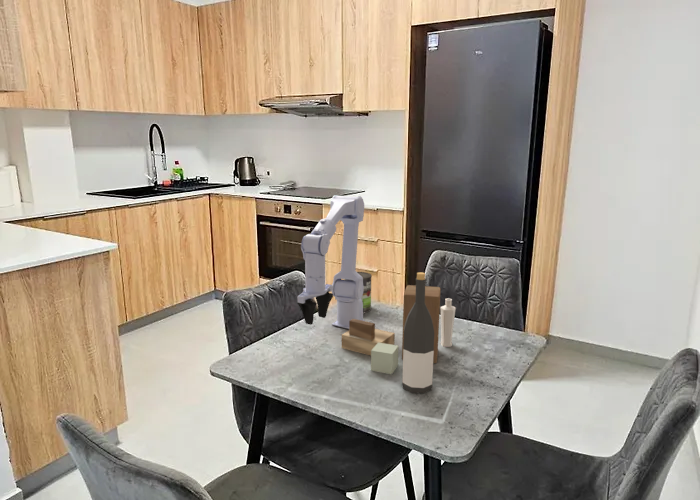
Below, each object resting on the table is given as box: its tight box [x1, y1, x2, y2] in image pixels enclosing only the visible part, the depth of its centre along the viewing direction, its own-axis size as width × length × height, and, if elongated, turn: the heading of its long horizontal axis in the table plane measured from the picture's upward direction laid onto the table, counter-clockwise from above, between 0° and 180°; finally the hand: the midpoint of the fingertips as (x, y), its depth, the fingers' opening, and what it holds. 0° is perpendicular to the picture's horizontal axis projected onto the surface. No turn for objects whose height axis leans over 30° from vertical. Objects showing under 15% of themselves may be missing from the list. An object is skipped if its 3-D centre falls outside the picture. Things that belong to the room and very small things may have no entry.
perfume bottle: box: [440, 297, 457, 348], centre depth 149 cm, size 5×4×15 cm
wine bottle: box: [401, 271, 434, 394], centre depth 121 cm, size 8×8×30 cm
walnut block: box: [348, 319, 376, 342], centre depth 144 cm, size 2×8×5 cm, turn 58°
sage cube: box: [370, 342, 400, 375], centre depth 134 cm, size 6×6×6 cm
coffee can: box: [343, 271, 373, 314], centre depth 180 cm, size 10×10×14 cm
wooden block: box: [401, 284, 441, 364], centre depth 141 cm, size 10×10×20 cm
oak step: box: [341, 328, 396, 357], centre depth 148 cm, size 10×13×4 cm
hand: (315, 320), depth 142 cm, fingers open, 6 cm apart
